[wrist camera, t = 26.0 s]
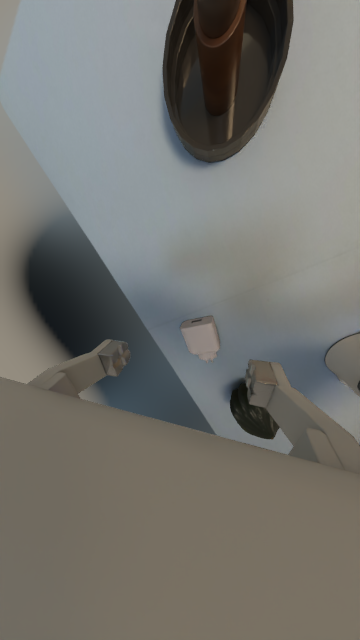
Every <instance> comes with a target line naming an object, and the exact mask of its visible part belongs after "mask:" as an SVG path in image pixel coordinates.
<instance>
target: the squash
mask: <svg viewBox="0 0 360 640" xmlns="http://www.w3.org/2000/svg"><path fill="white" fill-rule="evenodd" d="M247 392H248V388H247V387H246V383H242V384H241V385H240V386H239V389H235V390H233V392H232V395H231V400H230V408H231V412H232V414H233V416H234V418H235V419H236V421H237V423H238V424H239V425H240V426H241V428H242V429H243V430H245V431H246V432H248V433H249V434H251V435H254V436H257V437H260V438H264V439H273V438H274V437H275V435H276V432H277V430H278V429H279V426H278V424H277V423H276V422H275V420H274V419H273V418H272V416H271V415H270V414H269V412H268V411H267V409H266V408H263V407H259V406H255V405H251V404H249V401H248V395H247Z"/></svg>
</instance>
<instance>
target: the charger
mask: <svg viewBox="0 0 360 640" xmlns="http://www.w3.org/2000/svg"><path fill="white" fill-rule="evenodd" d="M180 329H181V332H182V334H183V337H184V339H185V342H186V344H187V347H188V350H189V352H190V353H192V354H198V356H199V358H200V359H202V360H206V363H208V361H207V360H210V359H211V362H212V363H213V360H212V359H214V358H216V357H217V354H216V352H217V351H218V350H219V349H220V340H219V337H218V333H217V330H216V326H215V322H214V319H213V316H207V317H202V318H197V319H192V320H188V321H184V322H183V323H182V325H181V327H180Z"/></svg>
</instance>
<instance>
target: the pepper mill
mask: <svg viewBox="0 0 360 640" xmlns="http://www.w3.org/2000/svg"><path fill="white" fill-rule="evenodd" d="M246 3H247V0H194V25H195V33H196V41H197V49H198V57H199V64H200V72H201V80H202V88H203V96H204V103H205V106H206V109H207V110H208V112H209V113H210V114H212V115H215V116H218V115H222V114H223V113H225V112H226V111H227V110H228V109H229V108H230V106H231V105H232V103H233V101H234V99H235V97H236V93H237V89H238V81H239V71H240V62H241V52H242V42H243V32H244V23H245V13H246Z"/></svg>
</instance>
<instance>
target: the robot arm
mask: <svg viewBox="0 0 360 640" xmlns="http://www.w3.org/2000/svg"><path fill="white" fill-rule="evenodd" d="M127 348H128V344H127V343H126V342H122V341H116V340H109V339H108V340H105V341H104V342H103V343H102V344H100V345H99V346H98V347H97V348H96V349H94V350H93V351H92V352H91V353H86V354H84V355H81V356H79V357H76V358H74V359H71V360H69V361H66V362H64V363H61V364H59V365H56V366H54V367H51V368H48V369H47V370H46V371H44V372H43V373H41V374H40V375H39V376H37V377H36V378H35V379H33V380H32V381H30V382H29V383H28V384H24V383H20V382H17V381H13V380H9V379H6V378H2V377H0V640H360V446H359V444H358V443H357V441H356V440H355V438H354V437H353V436H352V435H351V434H349V433H348V432H347V431H346V430H345V429H343V428H342V427H341V426H340V425H339V424H337V423H336V422H335V421H334V420H333V419H331V418H330V417H329V416H328V415H326V414H325V413H324V412H323V411H322V410H320V409H319V408H318V407H317V406H316V405H314V404H313V403H312V402H311V401H310V400H308V399H307V398H306V397H305V396H304V395H302V394H301V393H300V392H299V391H297V390H296V389H295V388H291V385H290V383H289V381H288V379H287V377H286V375H285V373H284V371H283V369H282V366H281V364H280V363H275V362H266V361H258V360H251V359H250V360H249V362H248V368H249V369H247V370H246V376H245V382H246V387H247V388H248V392H247V395H248V401H249V404H251V405H255V406H259V407H263V408H266V409H267V411H268V412H269V414H270V415H271V416H272V418H273V419H274V420H275V422H276V423H277V424H278V426H279V427H280V428H281V430H282V431H283V432H284V434H285V435H286V436H287V438H288V439H289V440H290V442H291V443H292V444H293V446H294V447H293V448H292V450H291V451H290V453H289V454H288V455H286V454H283V453H279V452H275V451H272V450H268V449H264V448H261V447H257V446H253V445H250V444H246V443H242V442H238V441H235V440H231V439H227V438H224V437H220V436H216V435H212V434H209V433H205V432H201V431H198V430H194V429H190V428H186V427H183V426H179V425H176V424H172V423H168V422H164V421H161V420H157V419H153V418H150V417H146V416H142V415H138V414H135V413H131V412H127V411H124V410H120V409H116V408H113V407H109V406H105V405H102V404H98V403H94V402H90V401H86V400H83V399H80V397H79V395H78V393H80V392H81V391H83V390H84V389H86V388H88V387H89V386H91V385H92V384H94V383H95V382H97V381H98V380H100V379H101V378H103V377H105V376H106V375H111V376H118V375H119V374H120V372H121V371H122V370H123V366H125V365H127V363H128V362H129V360H130V351H129V350H128V349H127ZM325 362H326V365H327V367H328V368H329V369H330V370H331V371H332V372H333V373H335V374H336V375H337V376H338V379H339V380H340V381H341V382H342V383H343V384H345V385H348V386H349V387H350V388H351V389H352V390H353V391H354V392H355V393H356V394H357V395H358V396H359V397H360V333H359V334H356V335H352V336H350V337H347V338H345V339H343V340H341V341H339V342H338V343H336V344H335V345H334V346H333V347H332V348H331V349H330V350H329V351H328V353H327V355H326V358H325Z"/></svg>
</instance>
